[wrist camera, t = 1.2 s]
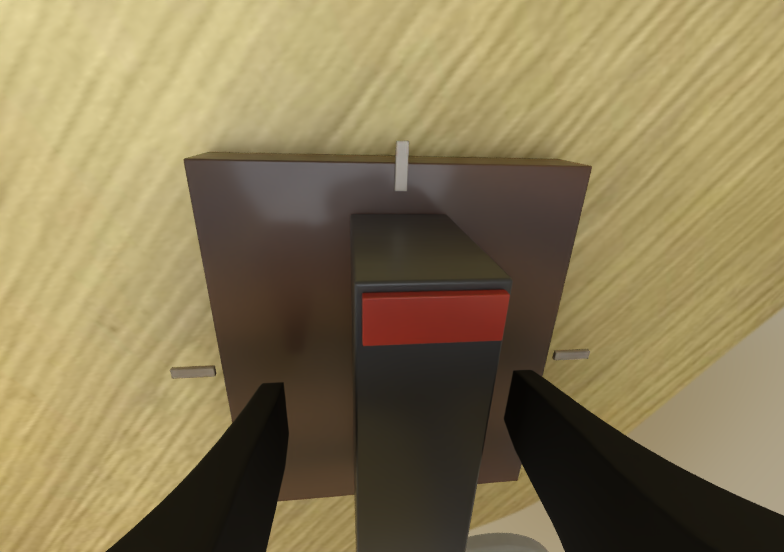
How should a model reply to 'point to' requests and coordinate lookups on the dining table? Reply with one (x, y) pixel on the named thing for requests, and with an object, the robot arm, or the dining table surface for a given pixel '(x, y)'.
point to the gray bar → (420, 377)
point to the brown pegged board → (333, 279)
